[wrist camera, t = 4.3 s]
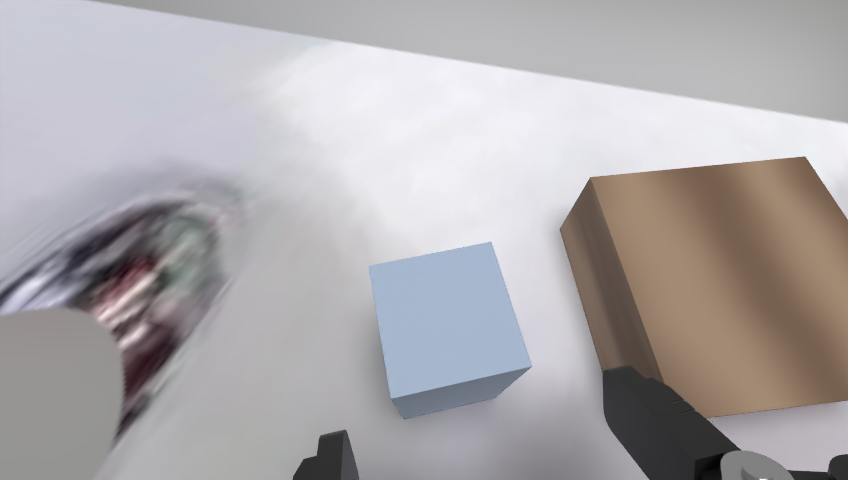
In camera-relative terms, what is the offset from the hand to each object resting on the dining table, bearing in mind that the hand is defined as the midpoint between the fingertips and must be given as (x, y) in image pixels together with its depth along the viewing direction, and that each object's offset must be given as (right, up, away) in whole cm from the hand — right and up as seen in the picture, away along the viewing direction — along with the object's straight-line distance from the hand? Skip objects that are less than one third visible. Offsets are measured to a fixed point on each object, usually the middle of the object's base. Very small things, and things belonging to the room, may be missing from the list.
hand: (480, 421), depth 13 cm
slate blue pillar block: (-1, -1, +11) cm, 11 cm away
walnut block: (+14, +1, +12) cm, 19 cm away
